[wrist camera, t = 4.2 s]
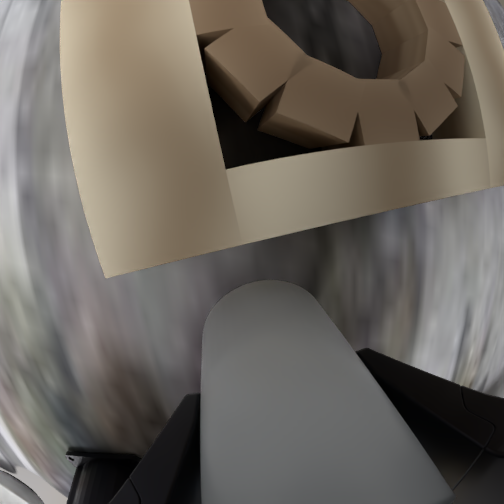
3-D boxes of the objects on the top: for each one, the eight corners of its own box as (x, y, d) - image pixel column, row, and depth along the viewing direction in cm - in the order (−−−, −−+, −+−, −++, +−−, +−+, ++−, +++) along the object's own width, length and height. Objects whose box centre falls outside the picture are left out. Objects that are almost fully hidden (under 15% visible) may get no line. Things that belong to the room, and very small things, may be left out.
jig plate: (135, 246, 11) (105, 278, 7) (94, -28, 7) (71, -65, 3) (481, 172, 12) (528, 180, 8) (416, -37, 8) (447, -58, 4)
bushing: (221, 394, 11) (243, 588, 3) (185, 297, 9) (155, 568, 2) (329, 366, 11) (422, 535, 3) (318, 265, 10) (499, 459, 2)
